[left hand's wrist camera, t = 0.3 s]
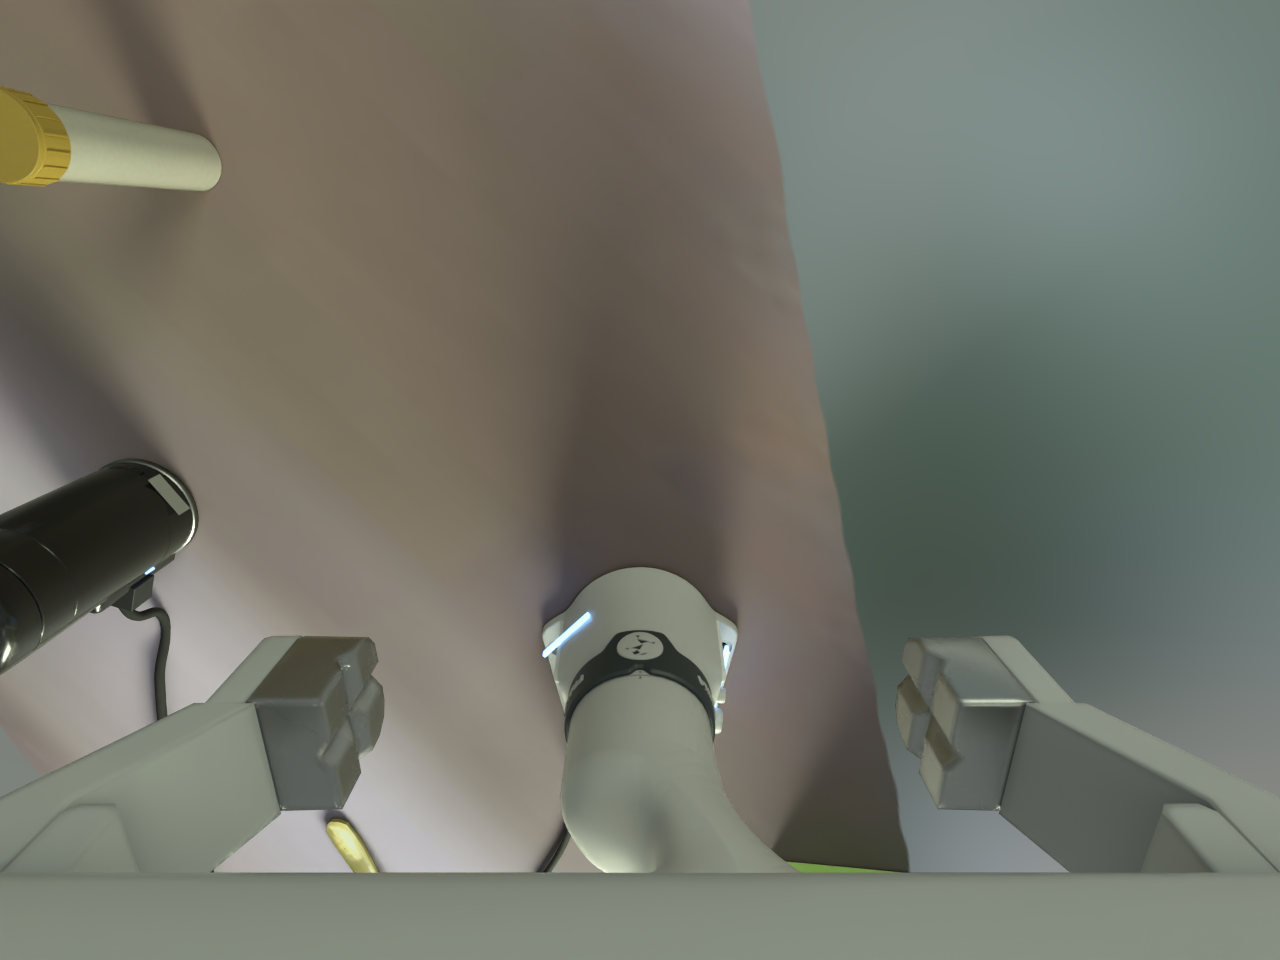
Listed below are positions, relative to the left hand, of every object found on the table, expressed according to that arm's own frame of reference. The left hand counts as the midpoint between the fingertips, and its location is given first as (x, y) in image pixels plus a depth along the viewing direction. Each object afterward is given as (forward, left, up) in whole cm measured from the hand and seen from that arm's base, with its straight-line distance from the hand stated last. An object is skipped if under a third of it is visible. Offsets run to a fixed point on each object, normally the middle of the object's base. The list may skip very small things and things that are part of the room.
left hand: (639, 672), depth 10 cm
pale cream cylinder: (+11, +34, -48) cm, 60 cm away
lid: (+11, +34, -31) cm, 47 cm away
